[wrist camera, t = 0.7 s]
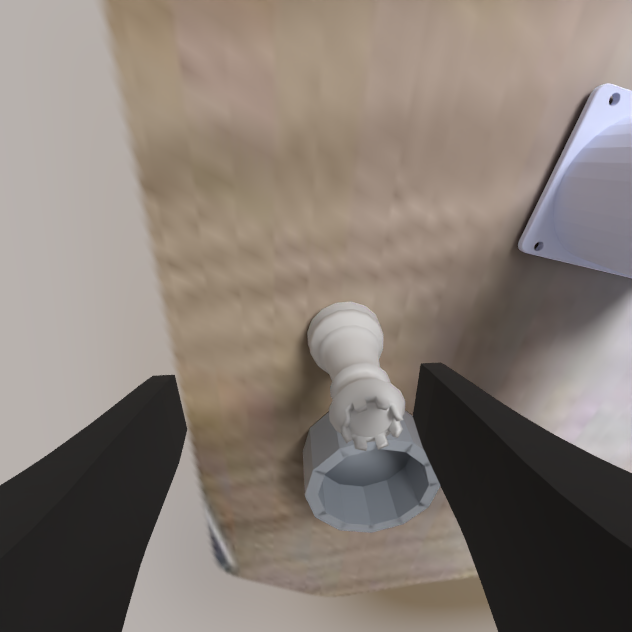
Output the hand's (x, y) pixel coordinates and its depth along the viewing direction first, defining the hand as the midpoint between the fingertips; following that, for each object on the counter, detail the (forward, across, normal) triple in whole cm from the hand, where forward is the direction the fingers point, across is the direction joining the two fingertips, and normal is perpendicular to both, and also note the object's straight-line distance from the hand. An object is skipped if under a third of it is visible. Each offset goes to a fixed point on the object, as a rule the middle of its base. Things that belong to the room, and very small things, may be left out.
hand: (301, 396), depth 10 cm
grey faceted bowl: (+10, -4, +13) cm, 17 cm away
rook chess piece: (+10, -3, +3) cm, 11 cm away
